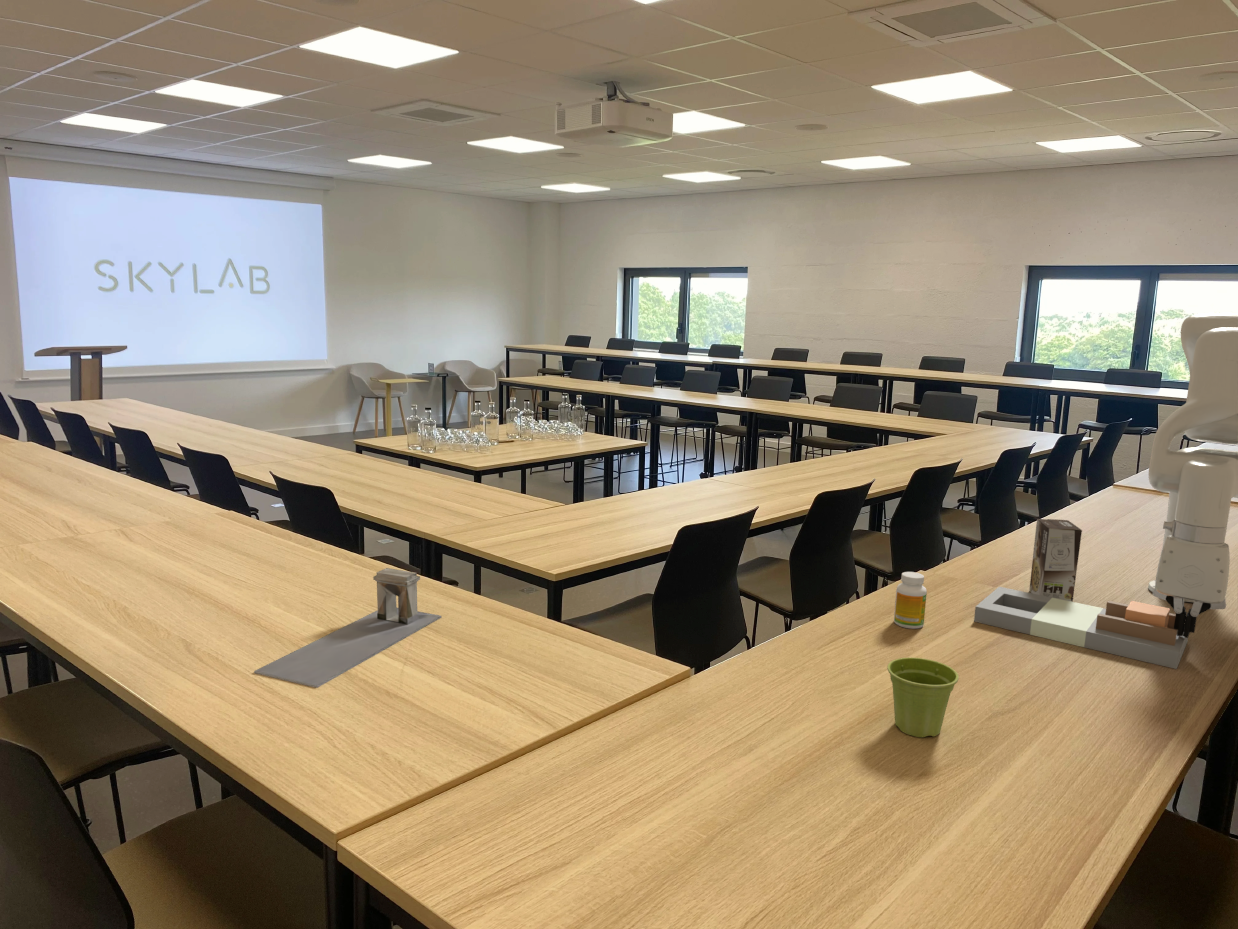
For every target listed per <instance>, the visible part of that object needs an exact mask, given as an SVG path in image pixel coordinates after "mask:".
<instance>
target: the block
mask: <svg viewBox="0 0 1238 929" xmlns="http://www.w3.org/2000/svg"><path fill="white" fill-rule="evenodd" d="M1128 605H1129V606H1128V607H1127V609H1126V613H1125V619H1127V620H1132V621H1137V622H1142V623H1146V624H1151V625H1156V626H1161V627H1165V628H1167V626H1168V619H1169V613H1171V612H1170V611H1171V608H1170V607H1165V606H1160V605H1155V604H1154V605H1153V604H1150V603H1145V602H1139V601H1134V600H1131V601H1130V602H1129V604H1128Z"/></svg>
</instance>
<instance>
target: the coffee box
mask: <svg viewBox="0 0 1238 929" xmlns="http://www.w3.org/2000/svg"><path fill="white" fill-rule="evenodd" d="M1082 533H1083V529H1081V528H1080V527H1078V526H1077V525H1076V524H1074V523H1073V522H1072V521H1070V520H1067V519H1055V518H1054V519H1052V518H1050V519H1047V518H1037V519H1036V527H1035V535H1034V543H1033V554H1032V562H1031V574H1030V579H1029V580H1030V581H1029V590H1028V591H1029V593H1032V594H1037V595H1042V596H1047V597H1052V598H1056V599H1061V600H1066V601H1071V602H1074V594H1075V586H1076V578H1077V571H1078V563H1079V555H1080V548H1081V540H1082Z"/></svg>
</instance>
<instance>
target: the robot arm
mask: <svg viewBox="0 0 1238 929" xmlns="http://www.w3.org/2000/svg"><path fill="white" fill-rule="evenodd" d="M1180 341H1181V346H1182V351H1183V354H1184V356H1185V359H1186V362H1187V364H1188V370H1189V382H1188V387H1187V396H1186V402H1185V403H1184V404H1182V405H1181V406H1180V407H1178V408H1177V409H1176V410H1174V411H1173V412H1171V413H1170V414H1169V415H1168V416H1167V417H1166V418H1165V419H1164V420H1163V421H1162V423H1161V424H1160V426H1159V427H1158V428H1157V430H1156V432H1155V435H1154V438H1153V442H1152V447H1151V454H1150V460H1149V465H1148V481H1149V484H1150V485H1151V487H1152V488H1153V489H1154V490H1156V491H1157V492H1161V493H1168V505H1167V513H1166V519H1165V520H1164V522H1163V525H1162V526H1163V527H1162V529H1163V530H1164V533H1163V534H1164V535H1163V542H1162V547H1161V548H1162V549H1161V552H1160V556H1159V561H1158V565H1157V570H1156V575H1155V580H1150V581H1149V582H1148V585H1147V588H1148V590H1149V591H1150V592H1152V596H1153V597H1154V598H1155V597H1156V598H1158V599H1160V600H1163V601H1165V602H1167V604H1168V605H1169V606H1170V607H1171V608H1172V609H1173V612H1174V613H1175V614H1176V616H1175V623H1174V629H1177V630H1178V633H1177V636H1182V635H1183V636H1184V637H1186V638H1188V639H1189V635H1190V634H1191V633H1192V634H1194V633H1195V630H1196V624H1197V619H1198V617H1199V615H1200V614H1203V613H1205V612H1207V611H1209V610H1225V609H1226V608H1227V601H1226V595H1227V592H1228V586H1229V585H1228V584H1229V576H1230V575H1229V574H1230V560H1231V559H1230V546H1229V544H1228V543H1226V541H1225V540H1226V535H1227V528H1228V522H1229V516H1230V509H1231V502H1232V499H1233V498H1235V499H1236V498H1237V499H1238V450H1229V449H1228V450H1227V449H1218V448H1208V447H1195V446H1193V447H1185V448H1181V449H1178V450H1177V451H1173V450H1170V447H1171V444H1172V441H1173V440H1174V439H1175V438H1176V437H1177V436H1178V435H1180V434H1182V433H1184V434H1185V436H1186V437H1187V438H1188V439H1190V440H1193V441H1197V442H1201V443H1202V442H1203V443H1209V444H1211V443H1212V444H1221V445H1232V446H1238V313H1237V312H1209V313H1208V312H1207V313H1206V312H1204V313H1196V314H1193V315H1189V316H1188V317H1186V318H1185V319H1184V320H1183V321H1182V323H1181V327H1180ZM1185 602H1186V603H1193V604H1192V607H1190V608H1189V609H1188V611H1187V608H1186V607H1185ZM1183 632H1184V634H1183Z"/></svg>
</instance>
